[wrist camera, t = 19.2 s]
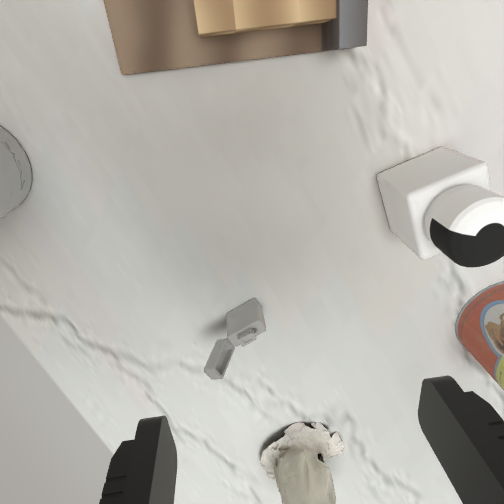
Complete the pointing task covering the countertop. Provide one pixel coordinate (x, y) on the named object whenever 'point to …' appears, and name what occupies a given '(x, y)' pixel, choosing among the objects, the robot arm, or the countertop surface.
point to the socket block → (259, 15)
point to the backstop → (218, 47)
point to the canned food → (485, 329)
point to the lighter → (236, 336)
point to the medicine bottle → (445, 207)
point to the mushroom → (303, 464)
